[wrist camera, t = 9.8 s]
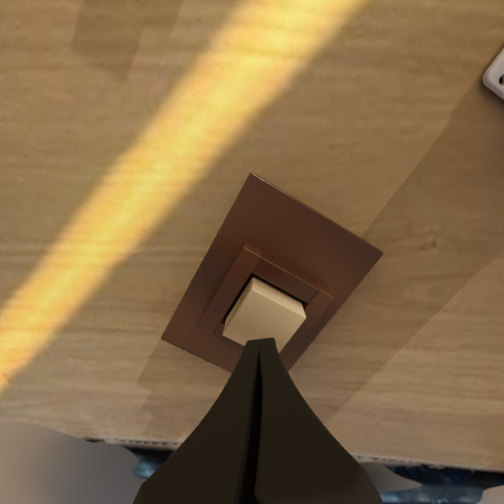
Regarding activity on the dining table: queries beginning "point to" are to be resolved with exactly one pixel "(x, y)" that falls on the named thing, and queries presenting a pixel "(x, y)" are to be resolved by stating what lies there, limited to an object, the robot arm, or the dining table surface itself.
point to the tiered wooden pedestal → (269, 272)
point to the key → (264, 315)
